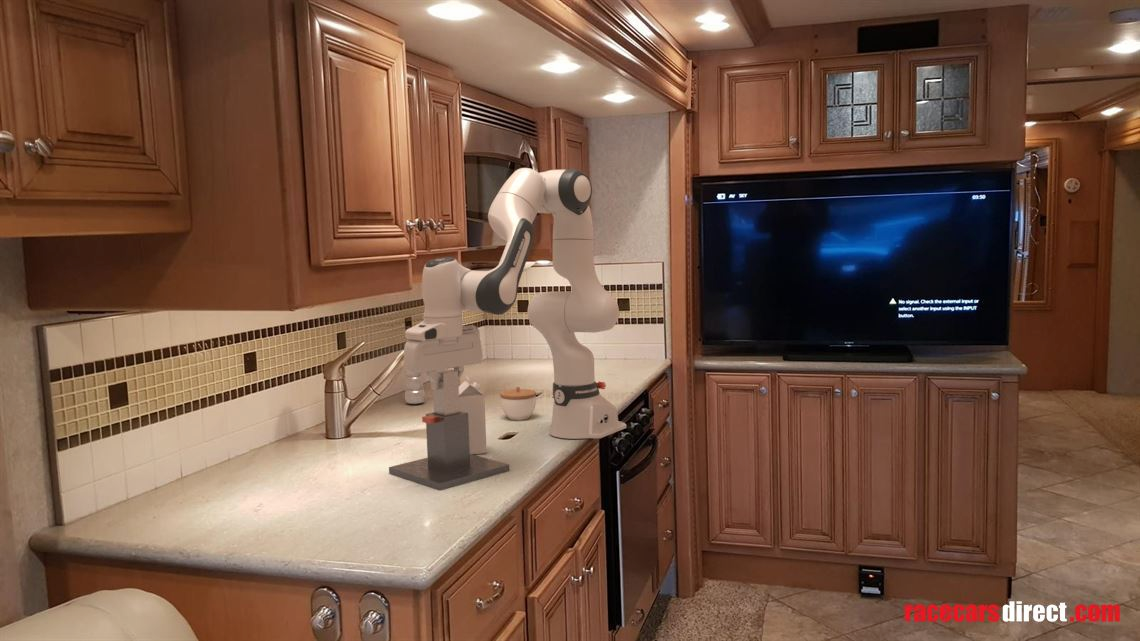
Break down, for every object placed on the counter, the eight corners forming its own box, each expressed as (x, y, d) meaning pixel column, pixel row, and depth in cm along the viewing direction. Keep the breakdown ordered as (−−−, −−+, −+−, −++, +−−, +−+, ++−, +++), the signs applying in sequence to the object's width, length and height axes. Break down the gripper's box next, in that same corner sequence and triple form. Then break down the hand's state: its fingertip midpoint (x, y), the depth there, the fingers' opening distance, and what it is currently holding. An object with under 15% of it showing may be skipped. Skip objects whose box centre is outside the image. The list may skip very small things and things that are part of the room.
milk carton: (458, 456, 219) (455, 381, 217) (454, 449, 226) (451, 377, 224) (486, 453, 221) (484, 379, 219) (482, 447, 228) (479, 375, 225)
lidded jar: (544, 416, 262) (543, 385, 261) (521, 423, 254) (520, 391, 253) (516, 412, 269) (515, 382, 268) (493, 419, 260) (492, 388, 259)
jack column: (450, 443, 207) (447, 369, 205) (461, 446, 204) (458, 370, 202) (435, 447, 204) (431, 371, 202) (446, 450, 201) (443, 373, 199)
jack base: (457, 456, 219) (455, 401, 217) (509, 470, 205) (507, 412, 203) (389, 473, 205) (386, 414, 204) (440, 490, 191) (437, 427, 189)
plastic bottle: (419, 401, 290) (416, 341, 288) (429, 404, 285) (426, 343, 283) (401, 403, 286) (398, 343, 284) (411, 406, 281) (408, 345, 279)
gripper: (470, 323, 211) (472, 379, 212) (398, 332, 196) (401, 392, 198) (487, 324, 206) (489, 382, 208) (414, 334, 192) (417, 396, 194)
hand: (445, 387), depth 203 cm, fingers closed on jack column, 4 cm apart
